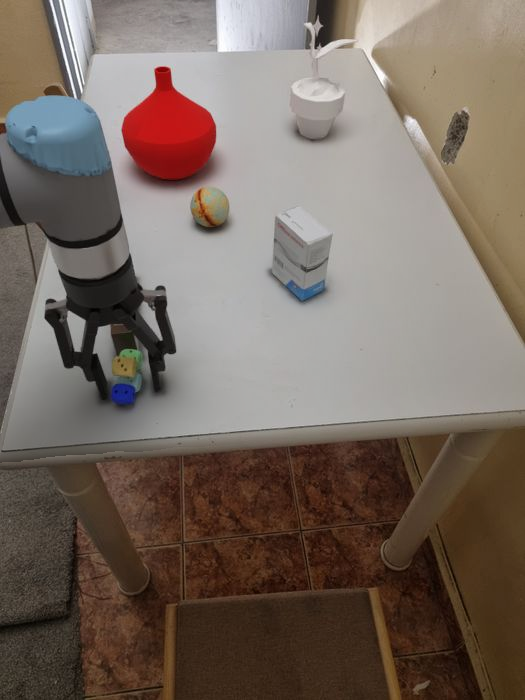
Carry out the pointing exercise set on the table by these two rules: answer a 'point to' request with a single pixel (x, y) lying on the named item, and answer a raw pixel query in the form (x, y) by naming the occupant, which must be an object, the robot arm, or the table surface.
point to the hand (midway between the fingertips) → (131, 387)
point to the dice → (126, 376)
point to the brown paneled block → (123, 338)
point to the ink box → (300, 252)
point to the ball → (209, 206)
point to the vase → (169, 132)
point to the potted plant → (317, 93)
